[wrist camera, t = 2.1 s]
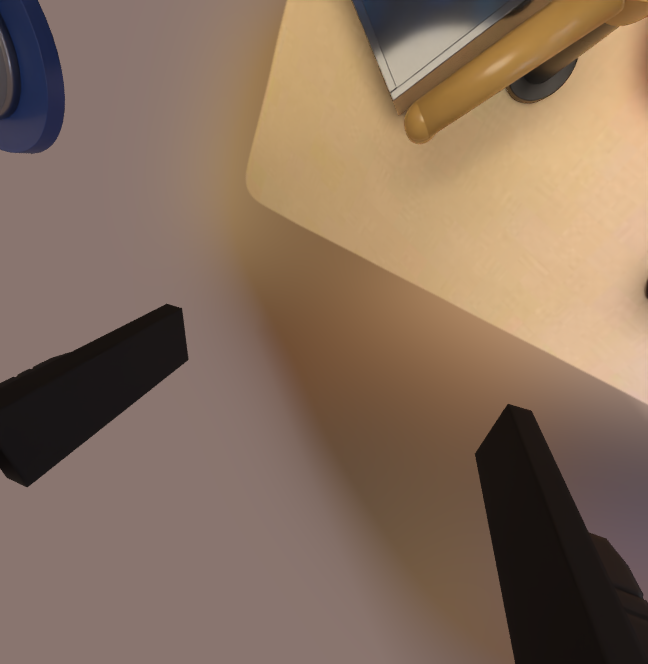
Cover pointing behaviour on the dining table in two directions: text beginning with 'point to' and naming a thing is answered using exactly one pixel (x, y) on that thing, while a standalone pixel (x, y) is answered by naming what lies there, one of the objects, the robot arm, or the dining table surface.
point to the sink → (434, 38)
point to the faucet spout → (514, 59)
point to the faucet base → (555, 69)
